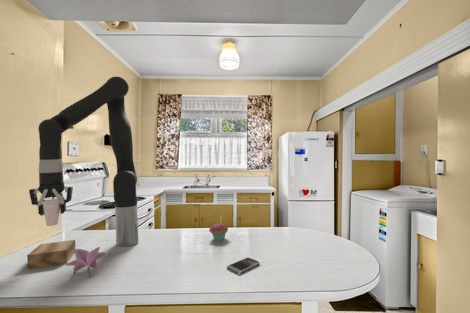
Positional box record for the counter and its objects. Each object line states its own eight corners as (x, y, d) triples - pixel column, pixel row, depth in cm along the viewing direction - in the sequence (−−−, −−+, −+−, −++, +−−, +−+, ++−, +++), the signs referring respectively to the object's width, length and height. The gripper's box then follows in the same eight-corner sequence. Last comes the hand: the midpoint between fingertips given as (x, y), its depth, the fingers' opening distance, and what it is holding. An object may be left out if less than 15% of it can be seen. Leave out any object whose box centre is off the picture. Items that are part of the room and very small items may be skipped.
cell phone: (260, 265, 87) (260, 261, 87) (238, 276, 79) (237, 272, 79) (248, 260, 91) (248, 256, 91) (225, 270, 84) (225, 266, 84)
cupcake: (231, 237, 116) (230, 212, 116) (221, 243, 109) (220, 216, 108) (216, 234, 120) (216, 210, 120) (205, 240, 113) (205, 214, 113)
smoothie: (51, 227, 92) (50, 190, 92) (37, 226, 93) (36, 189, 93) (66, 222, 98) (65, 187, 98) (53, 222, 99) (52, 187, 99)
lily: (115, 269, 88) (108, 243, 91) (102, 270, 77) (95, 241, 81) (79, 284, 85) (74, 257, 88) (61, 288, 74) (56, 257, 78)
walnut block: (75, 251, 103) (75, 239, 103) (66, 263, 92) (66, 249, 92) (41, 256, 99) (40, 244, 99) (27, 269, 88) (27, 255, 88)
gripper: (75, 170, 102) (76, 210, 102) (32, 171, 97) (34, 214, 97) (69, 170, 95) (71, 214, 95) (24, 172, 90) (25, 218, 90)
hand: (52, 214), depth 96 cm, fingers closed on smoothie, 6 cm apart
